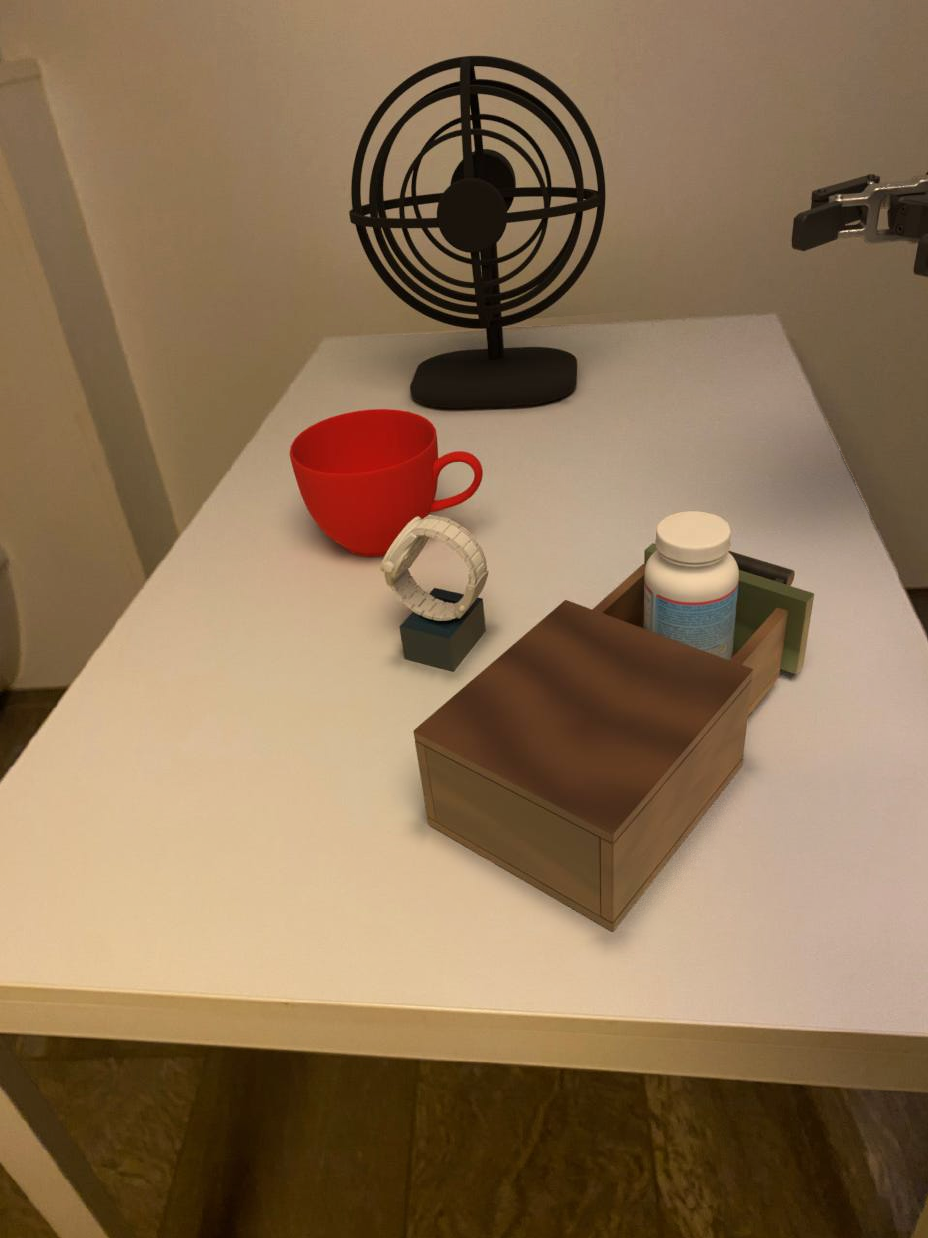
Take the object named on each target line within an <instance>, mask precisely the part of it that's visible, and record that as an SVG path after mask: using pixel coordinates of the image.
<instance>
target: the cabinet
mask: <svg viewBox="0 0 928 1238" xmlns="http://www.w3.org/2000/svg"><path fill="white" fill-rule="evenodd" d="M592 609H593V608H589V607H588V606H587V607H586V606H584V605H581V604H579V603H575V602H573V601H570V600H568V599H564V600H563V601H562V602H561V603H560V604H559V605H557V607H555V608H554V609H553V610H551V612H549V613H548V614H547V615H545V616H544V618H543V619H542V620H540V621H539V622H538V623H537V624H536V625H534V626H533V627H532V628H530V629H529V630H528V631H527V632H526V633H525V634H523V636H522V637H520V638H519V639H518V640H517V641H516V642H515V643H513V644H512V645H511V646H510V647H508V648H507V649H506V650H505V651H504V652H503V653H502V654H500V655H499V656H498V657H497V658H496V659H494V661H493V662H491V663H490V664H489V665H488V666H486V667H485V668H484V669H483V670H481V672H480V673H478V674H477V675H476V676H475V677H473V679H471V681H469V682H468V683H467V684H465V686H463V687H462V688H460V689H459V691H458V692H456V693H455V694H454V695H453V696H452V697H451V698H449V699H448V700H447V701H446V702H445V703H444V704H442V705H441V706H440V707H439V708H438V709H437V710H436V711H434V712H433V713H431V714H430V716H428V717H427V718H426V719H425V720H424V721H422V723H420V724H419V725H418V726H417V727H416V728H414V729H413V732H412V733H413V738H414V746H415V752H416V758H417V763H418V770H419V776H420V781H421V782H420V783H421V788H422V794H423V801H424V807H425V812H426V817H427V822H428V823H427V824H428V826H430V827H432V828H433V829H435V830H437V831H438V832H440V833H441V834H443V835H445V836H447V837H449V838H451V840H454V841H456V842H457V843H459V844H461V845H462V846H465V847H466V848H467V849H470V850H471V851H473V852H475V853H476V854H478V855H479V856H482V857H483V858H485V859H487V860H488V861H490V862H492V863H494V864H495V865H497V866H499V867H501V868H502V869H504V870H505V871H507V872H509V873H511V874H513V875H514V876H516V877H518V878H519V879H521V880H523V881H524V882H526V883H528V884H530V885H531V886H533V887H534V888H536V889H538V890H540V891H541V892H543V893H545V894H547V895H548V896H550V897H552V898H553V899H555V900H557V901H559V902H561V903H562V904H563V905H566V906H568V908H571V909H573V910H574V911H576V912H577V913H580V914H581V915H583V916H585V917H586V918H588V919H590V920H591V921H593V922H595V923H597V924H598V925H600V926H601V927H603V928H605V929H607V930H608V931H610V932H614V931H615V930H616V928H617V927H618V926H619V924H620V923H621V922H622V920H623V919H624V918H625V917H626V916H627V915H628V913H629V912H630V910H631V909H632V908H633V906H634V905H635V904H636V903H637V902H638V900H639V899H640V898H641V896H642V895H643V894H644V892H645V891H646V890H647V889H648V887H649V886H650V885H651V883H652V882H653V881H654V880H655V878H656V877H657V876H658V874H659V873H660V872H661V870H663V868H664V867H665V865H666V864H667V863H668V862H669V860H670V859H671V858H672V856H673V855H674V854H675V853H676V851H677V850H678V848H680V846H681V845H682V843H683V842H684V841H685V840H686V838H687V837H688V836H689V835H690V833H691V832H692V831H693V830H694V828H695V827H696V825H697V824H698V823H699V821H700V820H701V819H702V818H703V816H705V814H706V813H707V812H708V810H709V809H710V808H711V806H712V805H713V804H714V803H715V801H716V800H717V799H718V797H719V796H720V794H722V792H723V791H724V790H725V789H726V787H727V785H729V783H730V782H731V780H733V778H734V777H735V775H736V774H737V773H738V772H739V770H740V769H741V768H742V766H743V763H744V762H743V761H744V753H745V745H746V737H747V736H746V735H747V727H748V718H749V715H748V710H749V701H750V692H751V683H752V675H753V669H752V668H749V667H746V666H743V665H741V664H738V663H735V662H733V661H730V660H727V659H725V658H722V657H719V656H716V655H714V654H711V653H708V652H706V651H703V650H700V649H697V648H695V647H692V646H689V645H687V644H684V643H681V642H679V641H676V640H673V639H670V638H668V637H665V636H662V635H660V634H657V633H654V632H652V631H649V630H646V629H643V628H641V627H638V626H635V625H633V624H630V623H627V622H625V621H622V620H619V619H616V618H614V617H611V616H608V615H606V614H603V613H600V612H598V611H595V610H592Z"/></svg>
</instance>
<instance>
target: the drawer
mask: <svg viewBox="0 0 928 1238" xmlns="http://www.w3.org/2000/svg"><path fill="white" fill-rule="evenodd" d="M656 550H657V548H656V545H655V542H651V544H649V545H648V546H647V547H646V548H645V549H644V556H643V563H642V564H641V565H640V566H639V567H638V568H637V569H636V570H634V572H632V573H631V574H630V575H629V576H628V577H627V578H626V579H624V580H623V581H622V582H621V583H620V584H618V586H616V588H615V589H613V590H612V591H611V592H610V593H609V594H608V595H606V597H604V598H603V599H602V600H601V601H600V602H599V603H597V604H596V606H594V607H593V608H591V609H592V610H595V611H598V612H600V613H603V614H606V615H608V616H611V617H614V618H616V619H619V620H622V621H625V622H627V623H630V624H633V625H635V626H638V627H641V628H643V629H644V625H643V624H644V575H645V566H646V563H647V561H648V559H649V558H650V556H651V555H652V554H653V553H654V552H655V551H656ZM728 552H729V553H730V554H731V555H732V556H733V558H734V559H735V561H736V563H737V565H738V570H739V582H738V593H737V605H736V617H735V629H734V641H733V655H732V659H731V660H730V661H733V662H735V663H738V664H741V665H743V666H746V667H749V668H752V669H753V675H752V683H751V692H750V701H749V710H748V716H750V714H751V713H752V712H753V710H754V709H755V708H756V707H757V706H758V705H759V703H760V702H761V701H762V699H764V697H765V696H766V695H767V694H768V692H769V691H770V690H771V688H772V687H773V686H774V685H775V683H776V682H777V681H778V680H779V679H780V675H781V674H780V672H781V670H782V671H785V672H789V673H791V674H793V675H798V673H799V672H800V671H801V669H802V668H803V667H804V664H805V657H806V652H807V645H808V637H809V632H810V626H811V618H812V612H813V605H814V600H815V592H811V591H807V590H806V589H801V588H799V587H795V586H792V585H793V582H794V579H795V576H796V575H795V574H796V572H795V570H794V569H791V568H788V567H785V566H781V565H778V564H774V563H771V562H768V561H766V560H765V561H764V560H761V559H758V558H754V557H751V556H749V555H748V556H747V555H745V554H742V553H737V552H735V551H732V550H729V551H728Z"/></svg>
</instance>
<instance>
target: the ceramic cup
mask: <svg viewBox="0 0 928 1238" xmlns="http://www.w3.org/2000/svg"><path fill="white" fill-rule="evenodd" d="M437 435H438V434H437V429H436V427H435V426H434V424H433V422H432V421H430V420H429V419H428V418H426V417H425V416H422V415H420V414H418V413H414V412H411V411H407V410H401V409H394V408H393V409H391V408H373V409H372V408H371V409H363V410H355V411H351V412H345V413H341V414H338V415H333V416H330V417H327V418H325V419H322V420H320V421H318V422H316V423H314V424H312V425H310V426H308V427H307V428H306V429H304V430H302V431H301V432H300V433H299V434H298V435H297V436H296V437H295V438H294V439H293V441H292V443H291V445H290V448H289V458H290V463H291V466H292V470H293V474H294V477H295V481H296V485H297V487H298V490H299V492H300V496H301V498H302V501H303V503H304V506H305V507H306V509H307V511H308V513H309V515H310V516H311V518H312V519H313V521H314V522H315V523H316V525H317V526H318V527H319V528H320V530H321V531H322V532H323V533H324V534H325V535H326V536H327V537H329V539H332V540H333V541H335V542H336V543H337V544H338V545H340V546H342V547H343V548H345V549H346V550H347V551H348V552H350V553H352V554H354V555H358V556H361V557H362V556H363V557H379V556H381V557H382V556H385V554H386V553H387V551H388V549H389V548H390V546H391V545H392V543H393V542H394V540H395V539H396V538H397V536H398V535H399V534H400V532H401V531H402V530H403V529H404V527H405V526H406V525H407V524H408V523H409V522H410V521H411V520H412V519H414V518H415V517H420V518H421V520H422V519H423V518H425V517H426V516H428V515H431V513H435V512H439V511H442V510H446V509H450V508H453V507H456V506H458V505H461V504H463V503H464V502H466V501H468V500H469V499H470V498H472V497H473V496H474V495H475V493H476V492H477V491H478V489H479V487H480V486H481V483H482V481H483V476H484V471H483V466H482V464H481V461H480V459H478V457H477V456H475V455H474V454H472V453H471V452H468V451H464V450H463V451H462V450H456V451H451V452H448V453H445V454H443V455H441V456H440V457H439V445H438V436H437ZM454 463H464V464H466V465H468V466H469V467H470V468H471V469H472V471H473V475H474V477H473V480H472V483H471V484H470V485H469V486H468V488H466V489H465V490H464V491H462V492H460V493H458V494H455V495H453V496H450V497H446V498H441V499H436V496H437V491H438V485H439V477H440V474H441V472H442V470H443V469H444V468H445V467H447V466H448V465H450V464H454Z"/></svg>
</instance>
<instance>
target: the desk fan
mask: <svg viewBox="0 0 928 1238" xmlns="http://www.w3.org/2000/svg"><path fill="white" fill-rule="evenodd" d="M475 67H481V68H482V67H483V68H491V69H499V70H503V71H507V72H510V73H513V74H516V75H519V76H521V77H523V78H525V79H527V80H529V81H531V82H533V83H534V84H536V85H538V86H539V87H541V88H542V89H544V90H545V91H546V92H548V93H549V94H550V95H551V96H552V97H554V99H556V100H557V101H558V102H559V103H560V104H561V105H562V106H563V107H564V108H565V110H566V112H568V113H569V115H570V116H571V117H572V119H573V121H574V122H575V124H576V125H577V127H578V128H579V130H580V132H581V134H582V136H583V137H584V140H585V142H586V144H587V146H588V149H589V152H590V155H591V158H592V162H593V166H594V171H595V177H596V185H597V190H595V189H591V188H585V183H584V174H583V168H582V164H581V161H580V156H579V153H578V150H577V148H576V145H575V143H574V141H573V139H572V137H571V135H570V133H569V131H568V130H567V128H566V126H565V125H564V123H563V121H561V119H560V118H559V117H558V116H557V115H556V114H555V112H554V111H553V110H552V109H551V108H550V107H549V106H548V105H547V104H545V102H543V101H542V100H541V99H539V98H538V97H536V96H535V95H533V93H530V92H529V91H527V90H525V89H523V88H521V87H519V86H516V85H515V84H511V83H508V82H504V81H500V80H495V79H486V78H477V76H476V70H475ZM454 69H455V70H456V69H459V80H458V81H453V82H451V83H447V84H444V85H442V86H440V87H437V88H435V89H434V90H431V91H430V92H428V93H426V94H425V95H424V96H422V97H421V98H419V99H418V100H417V101H416V102H414V104H412V105H411V106H410V107H409V108H408V109H407V110H406V111H405V112H404V113H403V115H402V116H401V117H400V118H399V119H398V120H397V121H396V122H395V123H394V124H393V126H392V128H391V129H390V130H389V132H388V133H387V135H386V136H385V138H384V140H383V141H382V143H381V145H380V147H379V150H378V152H377V154H376V157H375V160H374V162H373V166H372V169H371V175H370V180H369V188H368V189H369V191H368V203H366V204H363V205H362V195H361V194H362V193H361V191H362V189H361V188H362V187H361V186H362V173H363V167H364V162H365V158H366V154H367V150H368V147H369V144H370V141H371V139H372V137H373V134H374V132H375V130H376V128H377V127H378V125H379V123H380V121H381V120H382V119H383V117H384V115H385V114H386V112H387V111H388V110H389V109H390V107H391V106H392V105H393V104H394V103H395V102H396V101H397V100H398V99H399V98H400V97H401V96H402V95H403V94H405V92H407V91H408V90H410V89H411V88H412V87H414V86H415V85H417V84H419V83H420V82H422V81H424V80H426V79H428V78H430V77H432V76H434V75H438V74H440V73H443V72H445V71H449V70H454ZM479 95H486V96H492V97H497V98H500V99H504V100H507V101H509V102H511V103H514V104H516V105H518V106H520V107H522V108H524V109H525V110H527V111H528V112H530V113H531V114H533V115H534V117H536V118H538V119H539V120H540V122H542V123H543V124H544V125H545V126H546V127H547V128H548V129H549V131H550V132H551V133H552V134H553V135H554V137H555V138H556V139H557V141H558V143H559V144H560V146H561V148H562V150H563V152H564V153H565V156H566V158H567V160H568V163H569V165H570V168H571V171H572V176H573V180H574V184H575V187H570V186H552V185H553V184H552V177H551V172H550V171H551V170H550V168H549V164H548V161H547V158H546V157H545V154H544V152H543V150H542V149H541V148H540V146H539V144H538V143H537V141H536V140H535V138H533V137H532V135H530V133H528V131H526V130H525V129H524V128H522V126H520V125H519V124H517V123H515V122H513V121H512V120H510V119H508V118H505V117H502V116H499V115H496V114H490V113H481V109H480V108H481V107H480V99H479ZM457 96H459V106H460V117H456V118H454V119H453V120H450V121H448V122H447V123H445V124H444V125H442V126H441V127H439V128H438V129H437V130H436V131H435V132H434V133H433V134H432V135H431V136H430V137H429V139H428V140H427V141H426V142H425V144H424V145H423V147H422V148H421V150H420V152H419V153H418V154H417V155H416V156H415V157H414V160H413V161H412V162H411V164H410V165H409V167H408V169H407V171H406V173H405V176H404V178H403V181H402V183H401V188H400V193H399V197H396V198H392V199H385V196H384V182H385V181H384V179H385V172H386V166H387V162H388V158H389V155H390V152H391V150H392V147H393V145H394V142H395V140H396V138H397V137H398V135H399V134H400V131H402V129H403V127H404V126H405V124H406V123H407V122H409V120H411V119H412V118H413V117H414V116H415V115H417V114H418V113H419V112H421V111H423V110H424V109H425V108H428V107H429V106H431V105H432V104H433V105H434V103H438V102H440V101H443V100H445V99H449V98H452V97H457ZM482 121H490V122H496V123H499V124H501V125H504V126H507V127H509V128H511V129H512V130H514V131H515V132H517V133H518V134H520V135H521V136H522V137H523V138H524V139H526V141H527V142H528V143H529V144H530V145H531V147H532V148H533V150H534V151H535V152H536V154H537V156H538V158H539V160H540V163H541V165H542V167H543V171H544V175H545V180H546V183H545V180H544V178H543V175H542V172H541V171H540V169H539V167H538V165H537V164H536V162H535V161H534V159H533V158H532V157H531V155H530V154H529V153H528V152H527V151H526V150H525V149H524V148H523V147H522V146H521V145H519V144H518V143H517V142H516V141H514V140H513V139H511V138H509V137H507V136H506V135H504V134H502V133H499V132H496V131H492V130H489V129H484V128H482ZM459 124H460V128H461V129H457V130H456V129H455V130H453V131H450V132H447V133H445V134H443V133H444V132H445V131H447V130H449V129H451V128H452V127H455V126H457V125H459ZM442 134H443V135H442ZM472 136H473V140H472ZM457 137H461V147H462V160H461V161H460V162H459V163H458V164H457V165H456V167H455V169H454V171H453V173H452V176H451V180H450V185H449V186H447V188H446V189H445V190H444V191H443V192H437V193H427V194H420V195H419V194H417V178H418V174H419V169H420V167H421V166H420V165H421V163H422V160H423V158H424V157H425V155H426V154H428V153H429V152H430V151H431V150H432V149H434V148H435V147H436V146H438V145H440V144H442V143H444V142H445V141H448V140H450V139H454V138H457ZM483 137H488V138H492V139H494V140H497V141H499V142H502V143H504V144H505V145H507V146H509V147H510V148H512V149H513V150H514V151H516V152H517V153H518V154H519V155H520V157H522V158H523V159H524V160H525V161H526V163H527V164H528V165H529V167H530V168H531V170H532V171H533V173H534V175H535V177H536V179H537V181H538V184H539V186H528V187H527V186H524V187H523V186H522V187H517V186H516V185H517V179H516V173H515V171H514V167H513V166H512V164H511V162H510V160H509V159H508V158H506V156H505V155H503V154H502V153H500V152H499V151H497V150H494V149H489V148H484V139H483ZM472 141H473V143H472ZM473 145H474V146H473ZM598 145H599V144H598V143H597V140H596V138H595V136H594V132H593V131H592V129H591V127H590V125H589V123H588V121H587V119H586V118H585V116H584V115H583V113H582V112H581V110H580V109H579V107H578V106H577V104H576V103H575V102H574V101H573V100H572V99H571V98H570V97H569V95H568V94H567V93H566V92H565V91H563V89H561V88H560V87H559V86H558V85H557V84H556V83H555V82H553V81H552V80H551V79H549V78H548V77H547V76H545V75H543V74H542V73H540V72H539V71H537V70H535V69H533V68H532V67H529V66H527V65H524V64H522V63H520V62H517V61H514V60H510V59H506V58H502V57H497V56H491V55H490V56H489V55H466V56H465V55H464V56H457V57H452V58H448V59H445V60H444V59H443V60H440V61H438V62H435V63H432V64H431V65H428V66H426V67H424V68H422V69H420V70H419V71H417V72H415V73H413V74H412V75H411V76H409V77H407V78H406V79H405V80H403V81H402V82H401V83H400V84H399V85H397V86H396V87H395V88H394V89H393V90H392V91H391V92H390V93H389V94H388V95H387V96H386V97H385V98H384V100H383V101H382V102H381V103H380V104H379V106H377V109H376V110H375V111H374V113H373V114H372V116H371V118H370V119H369V121H368V123H367V125H366V126H365V129H364V131H363V133H362V135H361V138H360V140H359V143H358V146H357V149H356V152H355V157H354V161H353V166H352V172H351V173H352V174H351V184H350V186H351V187H350V194H351V195H350V197H351V199H350V200H351V209H350V210H349V211H348V215H349V221H350V224H353V225H355V230H356V232H357V236H358V238H359V241H360V244H361V247H362V249H363V251H364V253H365V255H366V257H367V259H368V261H369V263H370V265H371V266H372V268H373V269H374V271H375V273H376V274H377V275H378V277H379V278H380V279H381V281H382V282H383V283H384V284H385V285H386V286H387V288H388V289H389V290H390V291H391V292H392V293H393V294H394V295H395V296H397V297H398V299H400V300H401V301H402V302H403V303H404V304H407V305H408V306H409V307H410V308H411V309H413V310H415V311H416V312H418V313H420V314H422V315H424V316H426V317H428V318H429V319H431V320H434V321H437V322H439V323H443V324H445V325H446V324H447V325H448V326H452V327H453V326H454V327H456V328H457V327H458V328H462V329H471V330H472V329H473V330H476V329H477V330H485V334H486V345H487V348H476V349H475V348H474V349H472V348H471V349H463V350H462V349H461V350H455V351H454V350H453V351H448V352H445V353H440V354H437V355H434V356H431V357H429V358H427V359H425V360H423V361H422V362H420V363H419V364H418V365H417V367H416V369H415V372H414V375H413V377H412V379H411V383H410V385H409V390H410V391H409V392H410V396H411V397H412V398H413V399H414V400H415V401H416V402H418V403H421V404H423V405H426V406H431V407H439V408H451V409H452V408H453V409H455V408H456V409H457V408H485V407H486V408H487V407H509V406H511V407H512V406H529V405H536V404H541V403H547V402H550V401H554V400H558V399H560V398H562V397H564V396H567V395H568V394H570V393H572V392H573V391H574V390H575V388H576V387H577V383H578V382H577V381H578V379H577V377H578V359H577V357H576V356H575V355H574V354H573V353H571V352H569V351H566V350H563V349H559V348H554V347H548V346H547V347H546V346H518V347H517V346H516V347H505V346H504V345H505V344H504V331H503V327H508V326H511V325H515V324H519V323H521V322H524V321H527V320H529V319H531V318H533V317H535V316H538V315H539V314H541V313H542V312H544V311H546V310H547V309H549V308H550V307H551V306H553V305H555V304H556V303H557V302H558V301H559V300H561V299H562V297H564V296H565V294H567V292H569V290H571V288H572V287H573V286H575V284H576V282H578V280H579V279H580V277H581V276H582V274H583V273H584V271H585V270H586V268H587V266H588V265H589V264H590V261H591V260H592V257H593V254H594V253H595V250H596V248H597V245H598V242H599V239H600V236H601V232H602V229H603V224H604V218H605V212H606V195H607V194H606V177H605V176H606V175H605V170H604V164H603V159H602V156H601V151H600V149H599V146H598ZM473 147H474V151H473ZM410 179H411V183H410V184H411V185H410V189H411V190H410V193H411V195H410V196H406V193H407V189H408V185H409V181H410ZM532 197H534V198H537V197H538V198H542V199H543V200H542V202H543V207H542V208H535V209H529V210H519V211H509V210H510V208H511V206H512V204H513V203H514V199H515V198H532ZM552 198H574V199H576V202H570V203H567V204H561V205H555V206H551V203H552ZM428 204H429V205H430V204H437V207H436V217H423V216H422V213H421V211H420V207H419V206H421V205H428ZM405 207H412V208H413V212H414V215H415V217H414V218H413V217H412V218H411V217H409V218H408V217H406V213H405V212H406V211H405ZM595 208H596V213H595V219H594V224H593V227H592V232H591V235H590V237H589V240H588V243H587V246H586V248H585V250H584V252H583V254H582V256H581V258H580V260H579V261H578V263H577V265H576V266H575V267H574V269H573V270H572V271H571V273H570V274H569V275H568V276H567V278H566V279H565V280H564V281H563V282H562V283H561V284H560V286H559V287H557V288H556V289H555V290H554V291H552V292H551V293H550V294H549V295H548V296H546V297H544V299H542V300H540V301H539V302H537V303H535V304H533V305H531V306H529V307H527V308H525V309H523V310H521V311H518V312H514V313H512V314H508V315H504V316H503V315H502V312H503V313H504V312H506V311H510V310H512V309H516V308H518V307H520V306H522V305H525V304H526V303H528V302H529V301H531V300H533V299H534V298H536V297H538V296H540V294H541V293H543V292H544V291H546V289H548V287H550V285H552V284H553V282H554V281H556V279H557V278H558V276H560V274H561V273H562V272H563V270H564V269H565V267H566V265H567V264H568V262H569V260H570V258H571V257H572V254H573V253H574V251H575V248H576V245H577V242H578V241H579V236H580V233H581V229H582V225H583V217H584V212H586V211H589V210H593V209H595ZM394 209H395V210H396V209H398V214H399V216H398V217H388V216H387V212H386V211H388V210H394ZM508 211H509V212H508ZM367 215H369V216H367ZM568 215H574V218H573V222H572V226H571V229H570V231H569V234H568V236H567V238H566V240H565V242H564V244H563V246H562V248H561V249H560V251H559V252H558V254H557V255H556V256H555V258H554V259H553V260H552V261H551V263H549V264H548V266H547V267H546V268H545V269H544V270H543V271H541V272H540V273H539V274H538V275H536V276H535V277H533V278H532V279H530V280H529V281H527V282H525V283H523V284H522V285H520V286H518V287H517V286H516V287H514V288H512V289H510V290H506V291H502V292H501V291H500V290H501V289H500V288H501V287H500V285H501V284H503V283H506V282H509V280H512V279H513V278H515V277H516V276H518V275H519V274H521V272H523V270H525V268H527V267H528V266H529V265H530V263H531V262H532V261H533V259H534V258H535V257H536V256H537V254H538V252H539V250H540V248H541V246H542V244H543V242H544V239H545V237H546V234H547V233H546V232H547V229H548V225H549V224H548V222H549V219H551V218H556V217H557V218H558V217H563V216H568ZM538 220H540V222H539V224H538V225H537V227H536V229H535V231H533V234H532V235H531V236H530V237H529V238H528V240H527V241H525V242H524V243H523V244H521V246H519V247H518V248H516V249H515V250H513V251H511V252H510V253H507V254H505V255H502V256H499V257H498V242H499V241H500V240H501V238H502V237H503V236H504V233H505V232H506V228H507V225H508V224H511V223H519V222H528V221H538ZM367 228H372V230H373V234H374V237H375V240H376V242H377V246H378V247H379V250H380V252H381V254H382V256H383V258H384V260H385V261H386V263H387V264H388V266H389V268H390V269H391V270H392V272H393V273H394V274H395V275H396V277H397V278H398V279H399V280H400V281H401V283H403V284H404V285H405V286H406V288H408V289H409V290H411V291H412V292H413V293H414V294H415V295H417V296H418V297H420V298H422V299H423V300H425V301H426V302H428V303H430V304H432V305H434V306H437V307H438V308H442V309H443V310H446V311H450V312H452V313H453V312H454V313H458V314H464V315H474V316H475V315H476V316H477V317H478V318H476V317H475V318H474V317H473V318H472V317H464V316H459V315H455V314H450V313H447V312H444V311H442V310H439V309H436V308H434V307H432V306H430V305H428V304H427V303H425V302H423V301H421V300H420V299H418V298H417V297H415V296H414V295H413V294H411V293H410V292H409V291H407V289H405V288H404V287H403V286H402V285H401V284H400V283H399V282H398V281H397V280H396V279H395V278H394V276H392V275H391V273H390V272H389V270H387V267H386V266H385V265H384V264H383V262H382V260H381V259H380V257H379V256H378V253H377V251H376V249H375V248H374V245H373V243H372V241H371V238H370V236H369V232H368V229H367ZM392 229H401V231H402V234H403V237H404V239H405V242H406V244H407V246H408V248H409V250H410V252H411V253H412V255H413V256H414V257H415V259H416V260H417V262H419V264H420V265H421V266H422V267H423V269H425V270H426V271H428V272H429V273H430V274H432V275H433V276H434V277H436V278H438V279H439V280H441V281H443V282H445V283H448V284H450V285H453V286H456V287H459V288H464V289H474V293H467V292H462V291H458V290H455V289H451V288H449V287H447V286H444V285H442V284H440V283H438V282H436V281H435V280H433V279H432V278H430V277H428V276H427V275H426V274H424V272H422V271H420V270H419V268H417V266H415V264H413V263H412V261H410V259H409V258H408V257H407V255H406V254H405V253H404V252H403V250H402V248H401V246H400V245H399V243H398V241H397V240H396V238H395V236H394V233H393V232H392ZM409 229H421V230H422V232H423V233H424V235H425V237H426V238H427V239H428V240H429V241H430V242H431V244H432V245H433V246H434V247H435V248H436V249H438V251H440V252H442V253H443V254H444V255H446V256H447V257H449V258H451V259H453V260H454V261H455V260H456V261H457V262H461V263H464V264H468V265H471V272H472V279H473V282H472V281H465V280H460V279H456V278H454V277H451V276H449V275H447V274H445V273H443V272H441V271H439V270H438V269H436V268H435V267H434V266H432V264H430V263H429V262H428V261H427V260H426V259H425V258H424V257H423V256H422V254H421V253H420V252H419V250H418V249H417V247H416V245H415V243H414V242H413V240H412V237H411V235H410V231H409ZM429 229H439V231H440V234H441V235H442V238H444V240H445V241H446V242H447V243H448V244H449V245H450V246H451V247H452V248H454V249H456V250H458V251H460V252H464V253H468V254H470V257H466V256H464V255H461V254H458V253H456V252H454V251H452V250H450V249H449V248H447V247H446V246H445V245H443V244H442V243H441V242H440V241H439V240H438V239H437V238H436V237H435V236H434V234H432V232H431V231H430V230H429ZM538 236H539V237H538ZM536 239H538V240H537V241H536V244H535V246H534V247H533V249H532V251H531V252H530V253H529V255H528V256H527V257H526V259H525V260H524V261H523V262H522V263H520V265H519V266H517V267H516V268H515V269H513V270H512V271H510V272H509V273H507V274H505V275H503V276H500V273H499V264H501V263H505V262H506V261H507V262H508V261H509V260H511V259H513V258H516V257H517V256H518V255H520V254H521V253H523V252H524V251H526V250H527V249H528V248H529V247H530V246H531V245H532V244H533V243H534V241H535V240H536ZM389 247H390V248H389ZM390 249H391V250H390ZM391 251H392V252H391ZM392 253H393V254H394V255H395V256H394V255H393V254H392ZM395 257H396V259H397V260H398V261H399V262H400V263H401V265H402V266H403V267H404V268H405V270H406V271H407V272H408V273H409V274H410V275H411V276H412V277H413V278H414V279H416V280H417V281H418V282H419V283H421V284H422V285H424V286H425V287H427V288H428V289H430V290H431V291H433V292H435V293H437V294H439V295H441V296H444V297H446V298H449V299H452V300H456V301H460V302H466V303H474V304H476V305H470V304H469V305H468V304H463V303H462V304H461V303H456V302H452V301H449V300H448V299H447V300H446V299H445V298H441V297H439V296H437V295H436V294H433V293H431V292H430V291H428V290H427V289H425V288H423V287H422V286H421V285H420V284H419V283H417V282H416V281H415V280H413V278H411V276H409V275H408V273H407V272H406V271H405V270H404V269H403V268H402V266H401V265H400V264H399V263H398V261H397V260H396V259H395ZM507 300H508V301H507ZM503 301H505V302H503Z"/></svg>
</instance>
